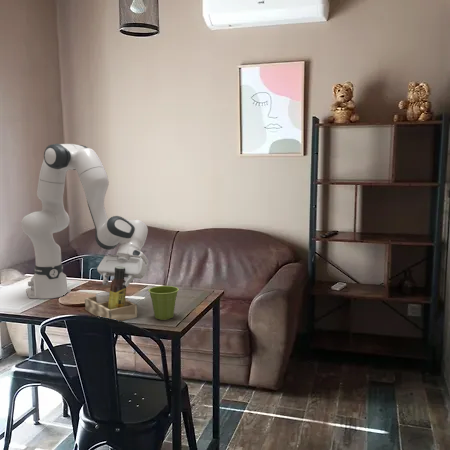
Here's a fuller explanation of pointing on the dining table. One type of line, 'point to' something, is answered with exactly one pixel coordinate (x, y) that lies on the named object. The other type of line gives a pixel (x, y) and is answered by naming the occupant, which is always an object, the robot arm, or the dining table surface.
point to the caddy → (118, 313)
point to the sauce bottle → (117, 289)
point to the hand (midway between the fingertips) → (114, 285)
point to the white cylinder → (102, 297)
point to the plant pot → (163, 301)
